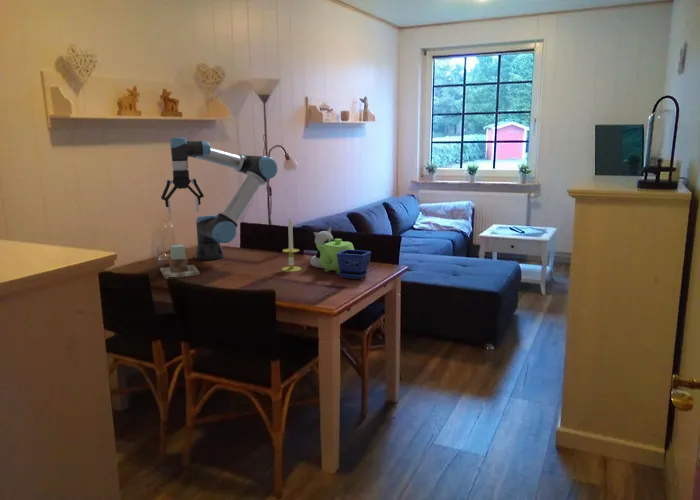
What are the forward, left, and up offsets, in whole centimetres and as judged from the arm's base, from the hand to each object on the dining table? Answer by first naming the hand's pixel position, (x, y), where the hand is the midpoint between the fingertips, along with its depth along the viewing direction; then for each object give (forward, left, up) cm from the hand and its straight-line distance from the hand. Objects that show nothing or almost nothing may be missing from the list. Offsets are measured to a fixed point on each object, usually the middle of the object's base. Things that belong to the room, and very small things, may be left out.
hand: (183, 212), depth 276 cm
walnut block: (+6, +10, -27) cm, 29 cm away
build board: (+5, +10, -28) cm, 30 cm away
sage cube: (+6, +10, -21) cm, 23 cm away
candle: (-46, +26, -28) cm, 61 cm away
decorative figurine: (-64, +27, -28) cm, 75 cm away
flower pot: (-68, +54, -28) cm, 91 cm away
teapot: (-64, +37, -28) cm, 79 cm away
